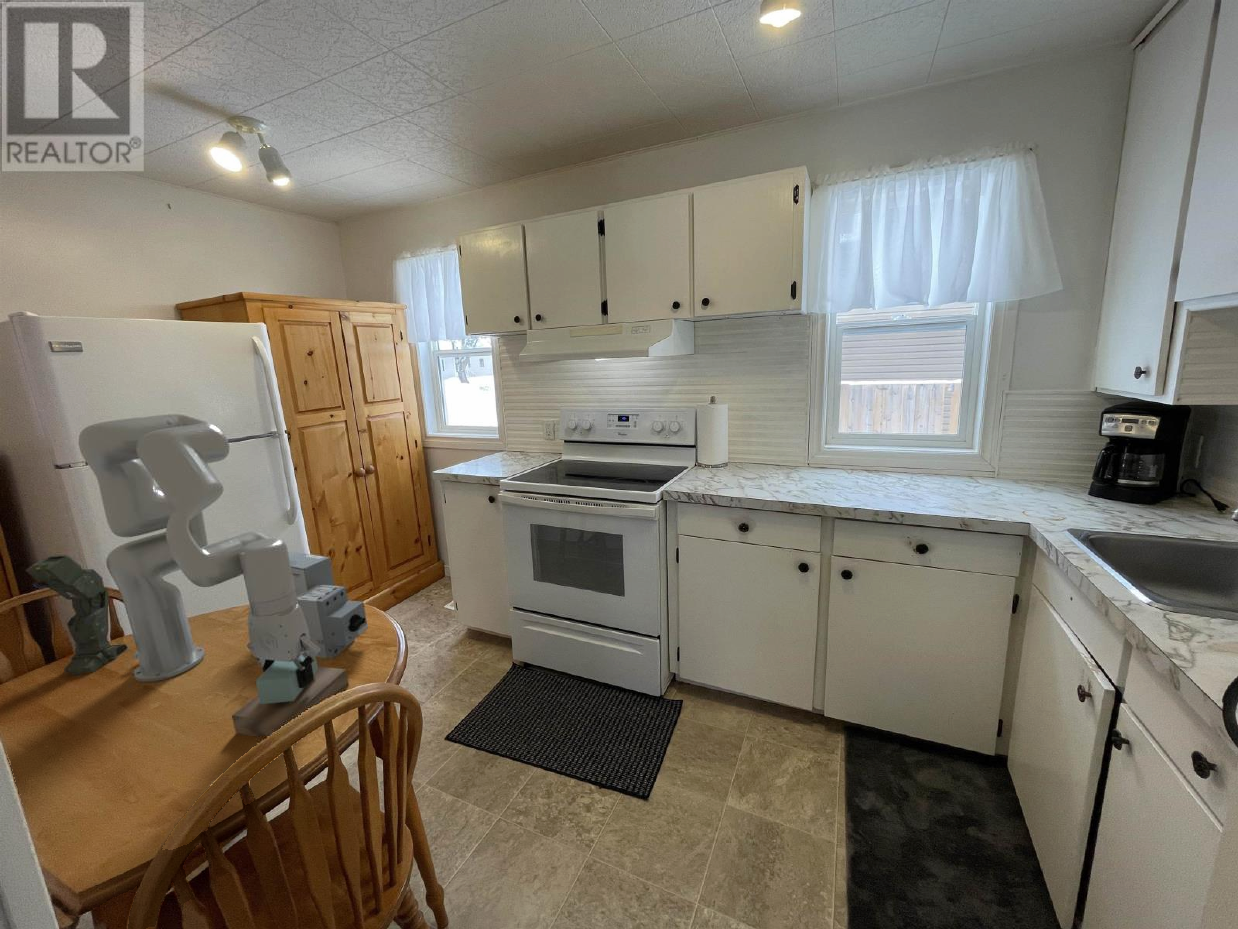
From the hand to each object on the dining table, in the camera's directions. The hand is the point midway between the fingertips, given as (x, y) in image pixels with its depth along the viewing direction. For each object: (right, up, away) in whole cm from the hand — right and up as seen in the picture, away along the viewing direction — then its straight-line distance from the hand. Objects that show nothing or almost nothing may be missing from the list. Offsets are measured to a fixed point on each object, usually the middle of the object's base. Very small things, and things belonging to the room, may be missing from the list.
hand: (290, 681), depth 102 cm
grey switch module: (-15, 0, +31) cm, 35 cm away
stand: (0, -6, +1) cm, 6 cm away
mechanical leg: (-59, -4, +19) cm, 63 cm away
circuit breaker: (-2, -2, +22) cm, 22 cm away
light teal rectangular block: (0, -1, 0) cm, 1 cm away
